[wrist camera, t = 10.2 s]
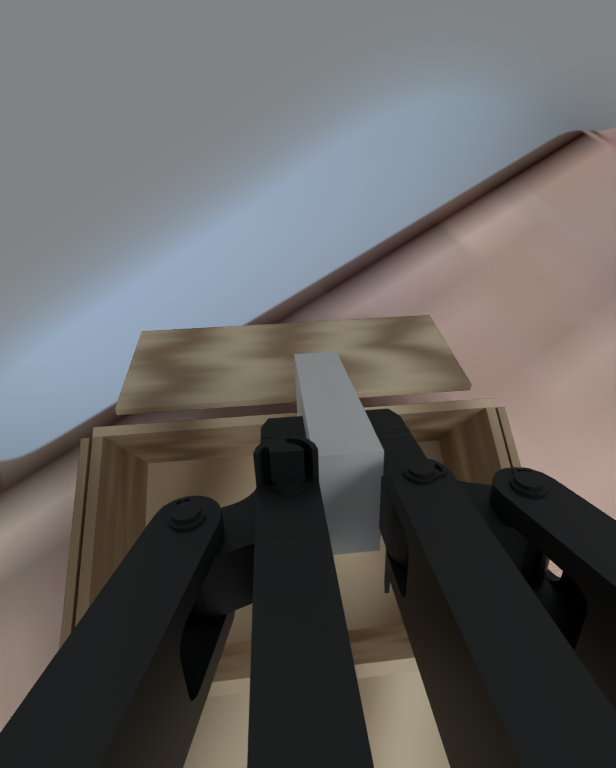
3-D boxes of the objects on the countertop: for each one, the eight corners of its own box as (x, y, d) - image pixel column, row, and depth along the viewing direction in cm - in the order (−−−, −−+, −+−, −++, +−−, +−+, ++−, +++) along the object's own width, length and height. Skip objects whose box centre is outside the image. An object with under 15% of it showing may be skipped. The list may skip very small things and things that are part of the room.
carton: (449, 433, 30) (503, 397, 23) (520, 762, 24) (628, 861, 16) (134, 459, 29) (81, 428, 21) (114, 820, 22) (26, 963, 14)
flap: (469, 391, 23) (428, 321, 29) (471, 384, 23) (429, 315, 28) (117, 416, 22) (143, 337, 27) (114, 409, 22) (141, 331, 27)
